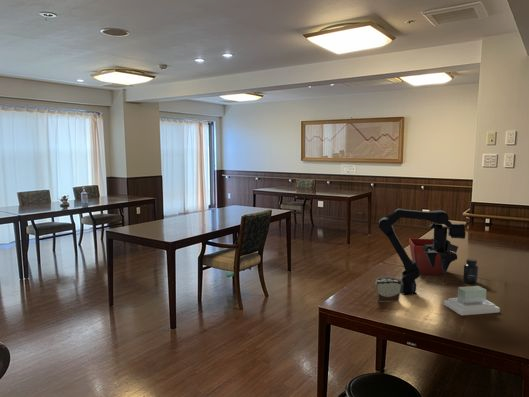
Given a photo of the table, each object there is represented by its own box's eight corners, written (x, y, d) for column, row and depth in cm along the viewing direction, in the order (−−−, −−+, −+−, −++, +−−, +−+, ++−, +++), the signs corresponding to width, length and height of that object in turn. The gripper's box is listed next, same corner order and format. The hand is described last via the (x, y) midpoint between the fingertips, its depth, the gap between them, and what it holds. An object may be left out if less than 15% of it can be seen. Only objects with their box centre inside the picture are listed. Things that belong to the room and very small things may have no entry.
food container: (397, 296, 188) (397, 276, 186) (401, 301, 182) (402, 280, 180) (371, 296, 187) (371, 276, 186) (375, 301, 181) (375, 280, 180)
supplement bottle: (469, 284, 203) (471, 262, 201) (459, 280, 209) (461, 258, 208) (480, 283, 205) (482, 260, 203) (470, 279, 211) (471, 257, 210)
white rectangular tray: (461, 315, 166) (461, 308, 165) (443, 304, 177) (444, 297, 177) (499, 312, 169) (500, 305, 168) (479, 301, 180) (480, 295, 180)
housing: (485, 305, 171) (486, 289, 170) (464, 307, 169) (465, 291, 169) (477, 301, 176) (478, 285, 175) (457, 302, 174) (457, 287, 173)
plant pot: (450, 277, 215) (451, 247, 213) (413, 275, 218) (414, 245, 216) (441, 267, 233) (443, 239, 231) (407, 265, 237) (408, 238, 235)
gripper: (469, 241, 177) (467, 274, 179) (443, 232, 196) (442, 263, 198) (446, 242, 176) (444, 276, 178) (422, 233, 194) (421, 264, 196)
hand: (438, 269), depth 187 cm, fingers open, 9 cm apart
